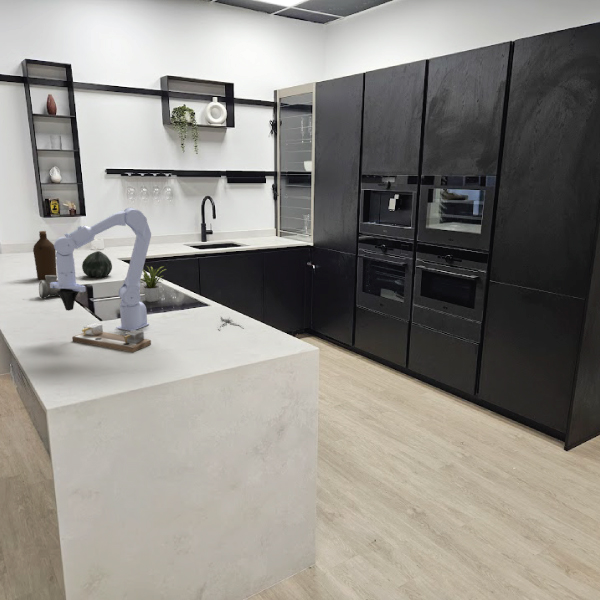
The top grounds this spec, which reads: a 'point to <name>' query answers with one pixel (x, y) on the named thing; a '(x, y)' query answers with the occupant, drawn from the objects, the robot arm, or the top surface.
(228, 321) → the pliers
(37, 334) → the top surface
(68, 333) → the top surface
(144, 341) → the gauge board
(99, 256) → the squash
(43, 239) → the olive oil
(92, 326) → the block
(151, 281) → the house plant
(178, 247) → the top surface
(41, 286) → the pipe fitting
